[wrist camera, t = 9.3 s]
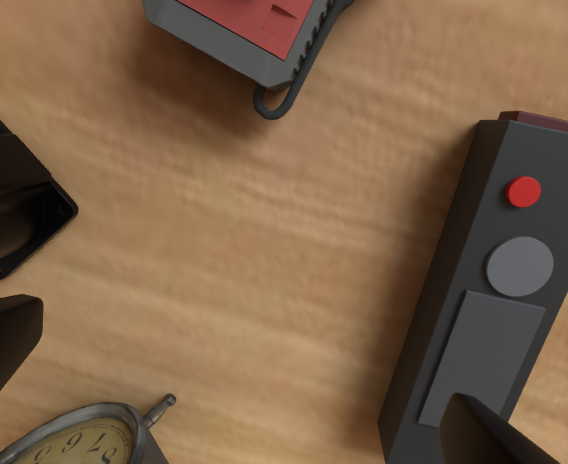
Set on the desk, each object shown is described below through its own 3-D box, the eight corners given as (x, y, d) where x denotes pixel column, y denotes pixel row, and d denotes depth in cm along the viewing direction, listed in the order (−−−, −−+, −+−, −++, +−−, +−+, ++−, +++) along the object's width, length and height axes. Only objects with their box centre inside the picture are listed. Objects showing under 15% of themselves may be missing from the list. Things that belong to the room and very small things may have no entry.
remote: (459, 442, 22) (481, 492, 19) (376, 423, 22) (386, 469, 19) (589, 132, 17) (647, 134, 14) (482, 109, 17) (517, 106, 14)
